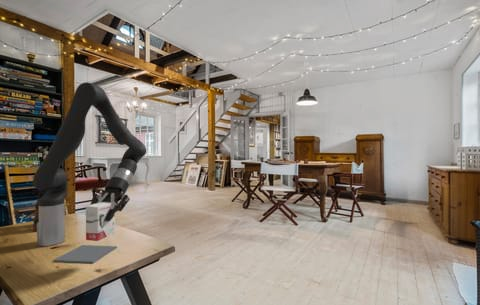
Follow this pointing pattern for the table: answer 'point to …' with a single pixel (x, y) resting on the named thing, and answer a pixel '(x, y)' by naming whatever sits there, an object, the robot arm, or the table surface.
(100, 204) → the ink box
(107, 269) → the table surface
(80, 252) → the charcoal mat
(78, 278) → the table surface
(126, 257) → the table surface
